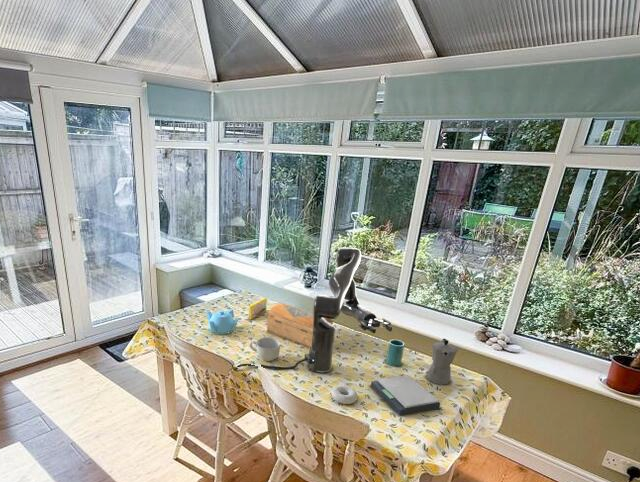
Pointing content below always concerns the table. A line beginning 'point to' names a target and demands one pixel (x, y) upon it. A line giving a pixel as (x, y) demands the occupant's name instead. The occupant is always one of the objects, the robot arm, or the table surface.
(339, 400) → the donut
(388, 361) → the canister
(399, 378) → the scale
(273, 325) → the wooden box
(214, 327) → the teapot
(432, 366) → the coffeepot
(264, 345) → the teacup
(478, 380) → the table surface
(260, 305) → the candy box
